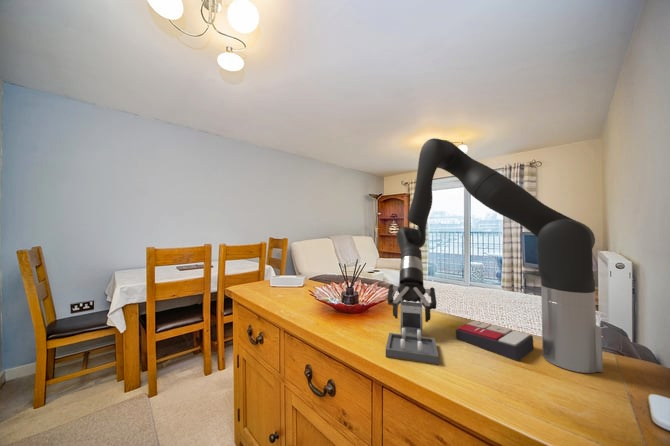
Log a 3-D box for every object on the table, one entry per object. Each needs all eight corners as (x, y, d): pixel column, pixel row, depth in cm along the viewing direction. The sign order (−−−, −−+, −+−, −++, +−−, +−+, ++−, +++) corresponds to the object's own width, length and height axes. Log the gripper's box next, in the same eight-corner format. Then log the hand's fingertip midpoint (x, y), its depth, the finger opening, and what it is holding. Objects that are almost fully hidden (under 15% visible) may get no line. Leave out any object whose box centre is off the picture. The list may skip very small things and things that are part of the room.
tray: (434, 345, 66) (434, 330, 66) (438, 364, 57) (438, 346, 57) (389, 339, 70) (389, 324, 70) (385, 356, 60) (385, 340, 60)
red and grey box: (473, 318, 77) (533, 332, 65) (474, 333, 76) (534, 349, 64) (454, 326, 70) (516, 343, 58) (455, 342, 70) (518, 362, 58)
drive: (422, 333, 74) (421, 303, 74) (422, 339, 70) (422, 307, 70) (401, 330, 76) (401, 301, 76) (400, 336, 72) (400, 305, 72)
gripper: (388, 265, 83) (385, 310, 72) (434, 267, 79) (438, 315, 67) (390, 278, 88) (387, 322, 77) (433, 280, 84) (436, 327, 72)
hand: (411, 319), depth 72 cm, fingers open, 8 cm apart
